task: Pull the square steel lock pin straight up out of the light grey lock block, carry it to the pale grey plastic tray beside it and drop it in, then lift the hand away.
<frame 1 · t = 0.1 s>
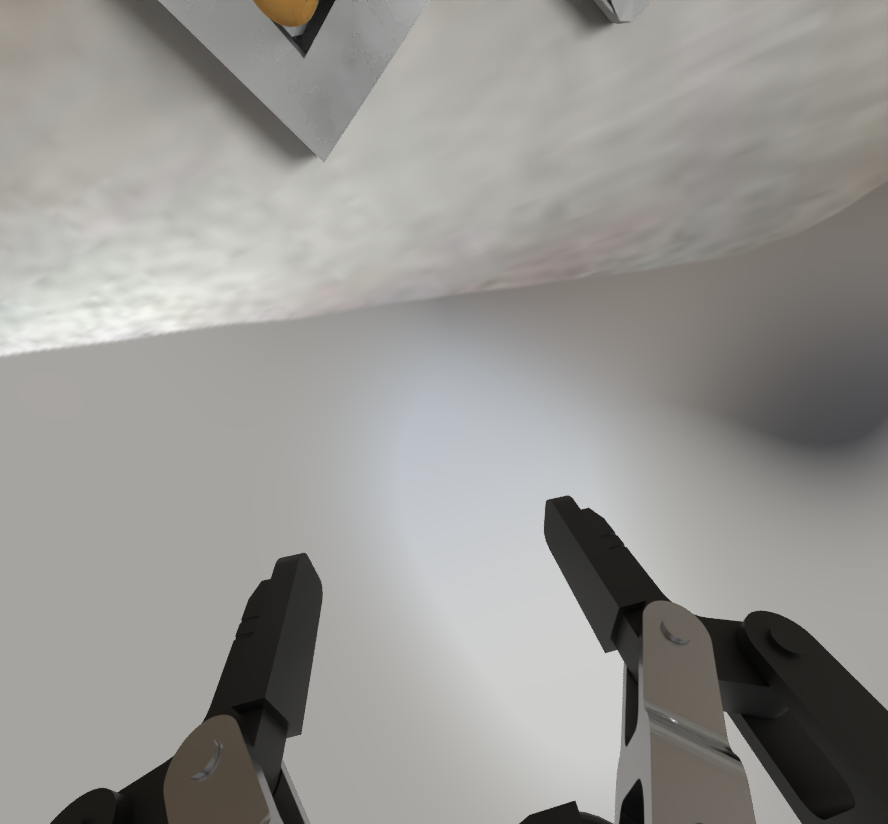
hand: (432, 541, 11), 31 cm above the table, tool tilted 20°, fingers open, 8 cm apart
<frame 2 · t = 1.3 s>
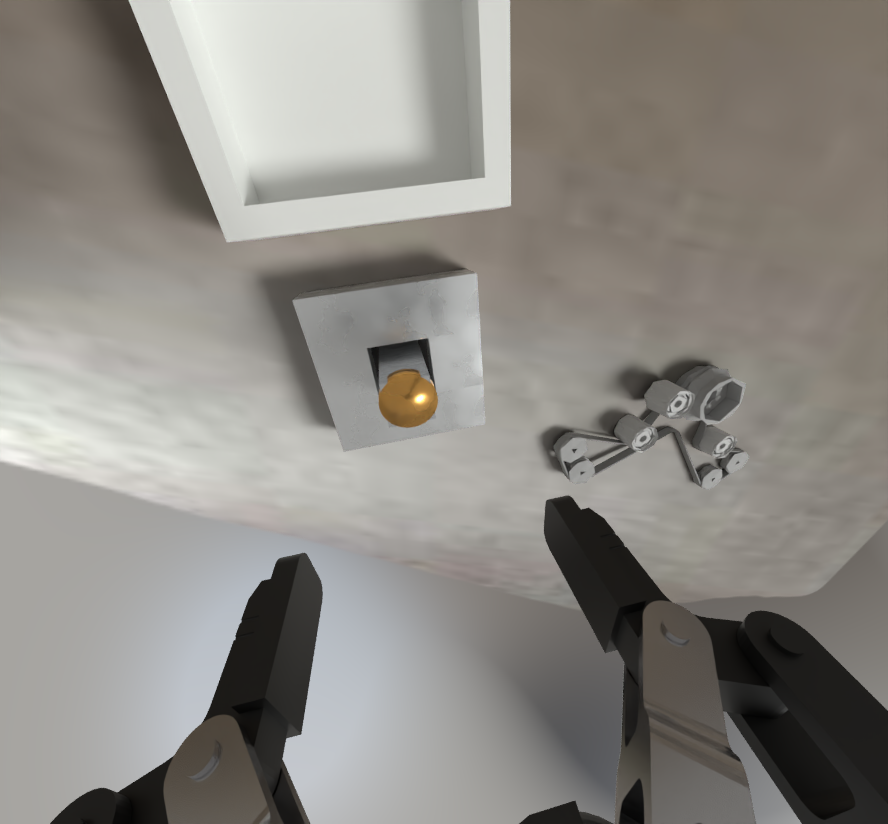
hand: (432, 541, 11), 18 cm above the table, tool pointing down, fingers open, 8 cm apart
lock block: (401, 358, 26), on the table
parts tray: (350, 93, 18), on the table
pulley system: (665, 423, 36), on the table
lock pin: (404, 376, 23), in the lock block
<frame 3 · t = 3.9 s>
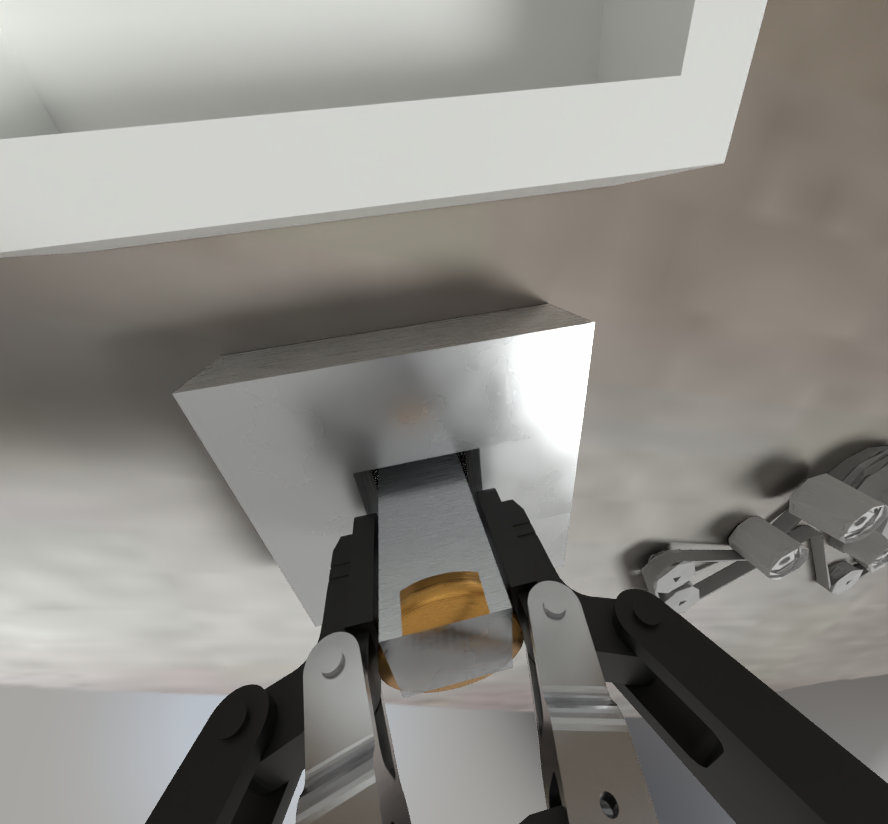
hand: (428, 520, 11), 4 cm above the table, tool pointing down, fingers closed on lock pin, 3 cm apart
lock block: (418, 457, 15), on the table
pulley system: (795, 518, 25), on the table
lock pin: (430, 526, 11), in the lock block, touching gripper
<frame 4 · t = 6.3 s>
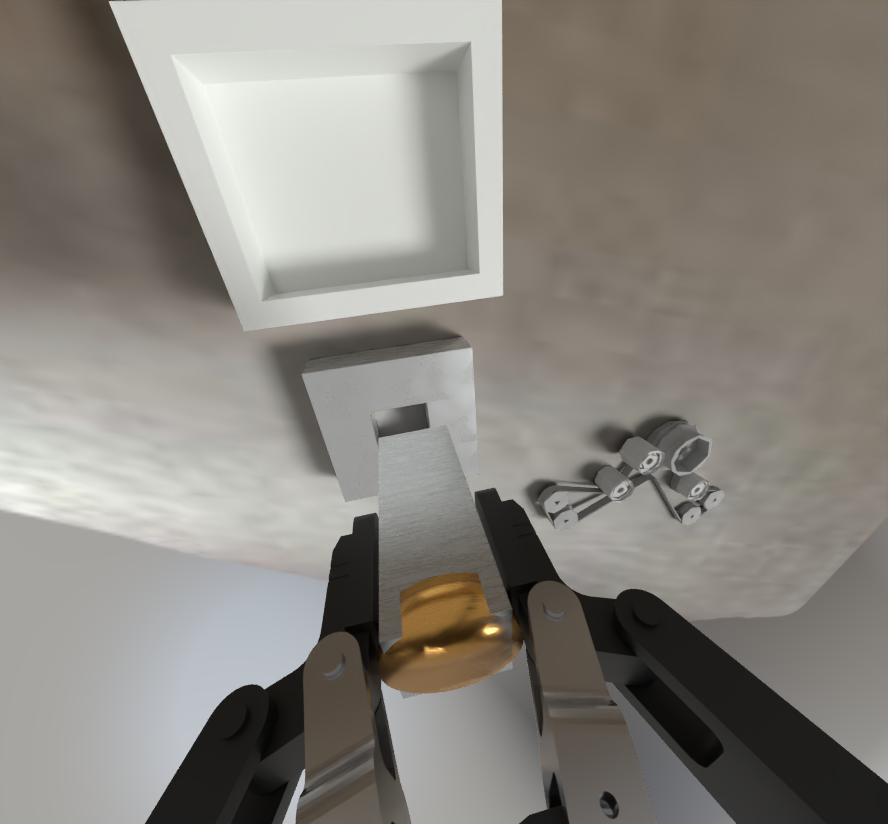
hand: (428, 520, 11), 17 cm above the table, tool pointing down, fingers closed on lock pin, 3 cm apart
lock block: (400, 413, 28), on the table
parts tray: (358, 194, 20), on the table
pulley system: (643, 469, 39), on the table
lock pin: (430, 527, 11), point 17 cm above the table, touching gripper
when the fingers open (7 cm above the table, at t = 9.7 s): lock pin drops 2 cm, resting on parts tray.
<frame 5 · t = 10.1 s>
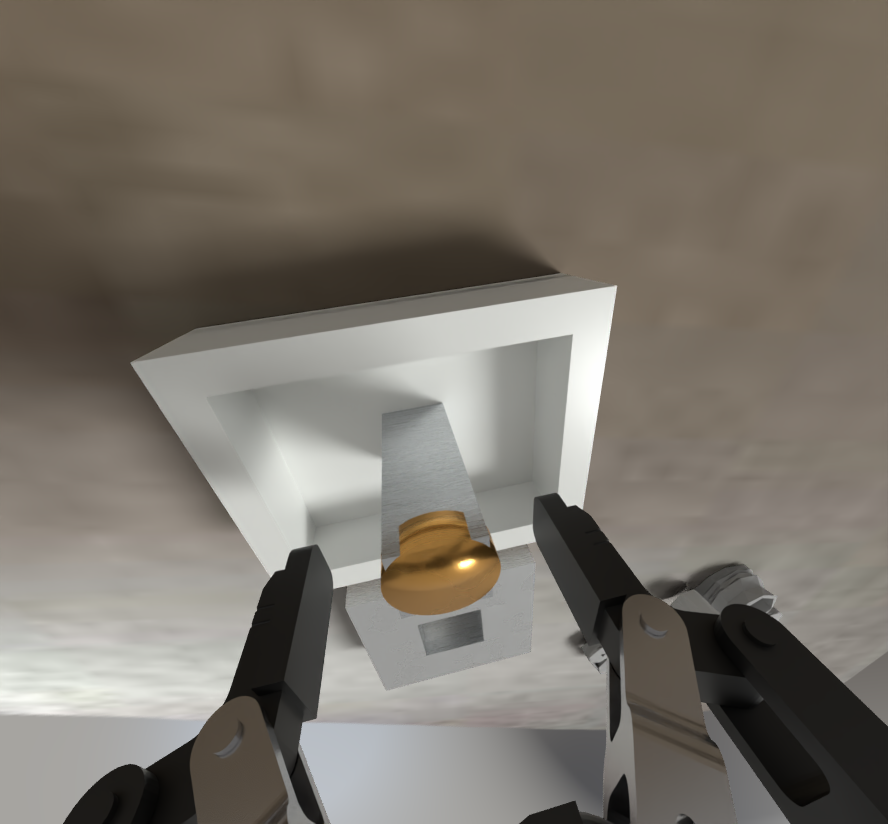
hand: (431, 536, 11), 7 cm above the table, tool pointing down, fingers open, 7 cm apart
lock block: (445, 592, 25), on the table
parts tray: (412, 424, 17), on the table
pulley system: (693, 602, 36), on the table
lock pin: (426, 487, 13), in the parts tray, point 5 cm above the table
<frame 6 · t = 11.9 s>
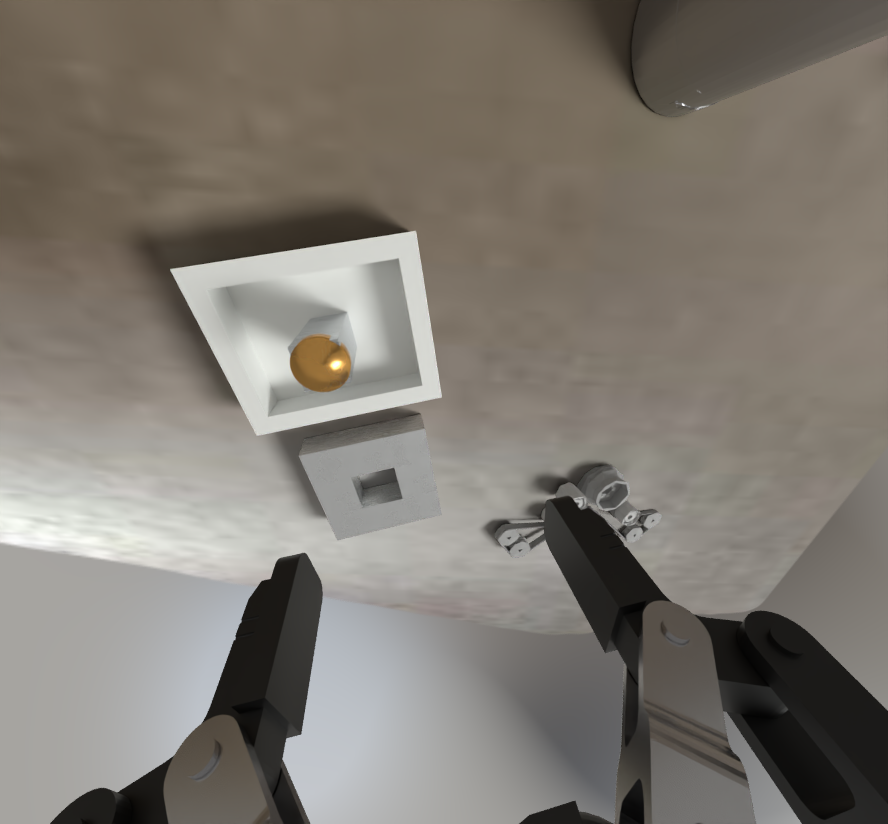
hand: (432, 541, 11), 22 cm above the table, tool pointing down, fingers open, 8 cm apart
lock block: (377, 470, 36), on the table
parts tray: (334, 330, 28), on the table
pulley system: (584, 502, 46), on the table
lock pin: (328, 347, 23), in the parts tray, point 5 cm above the table
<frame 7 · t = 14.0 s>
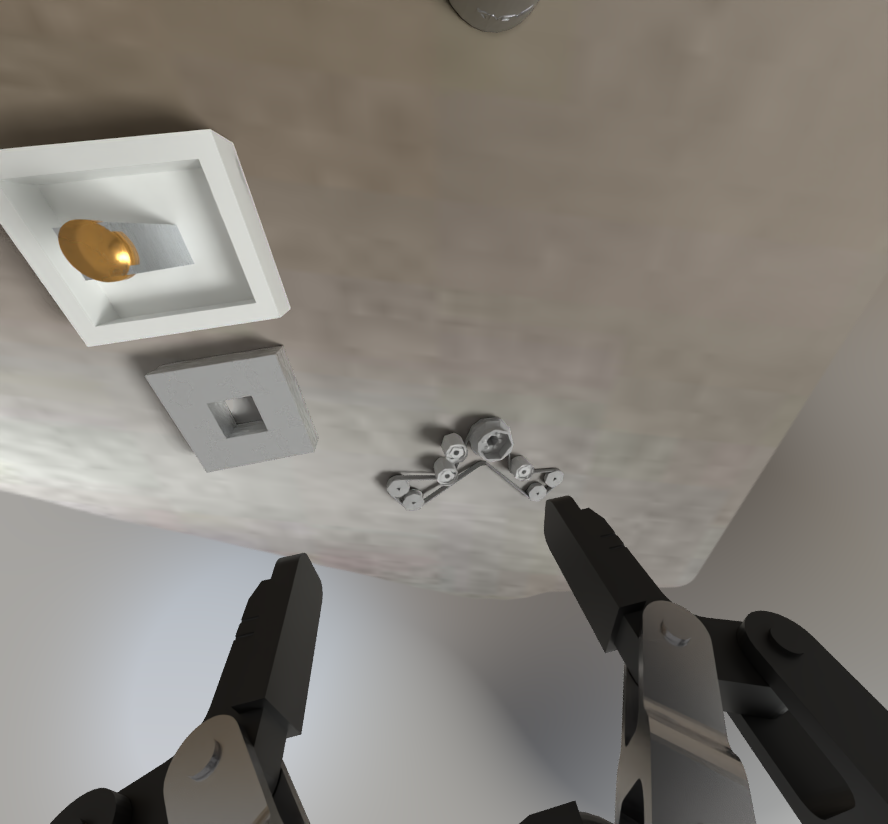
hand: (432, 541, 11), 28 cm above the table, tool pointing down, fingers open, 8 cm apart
lock block: (248, 404, 36), on the table
parts tray: (171, 247, 28), on the table
pulley system: (481, 458, 47), on the table
lock pin: (136, 249, 24), in the parts tray, point 5 cm above the table
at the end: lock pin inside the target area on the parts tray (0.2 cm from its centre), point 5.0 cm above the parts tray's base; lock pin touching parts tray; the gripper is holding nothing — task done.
